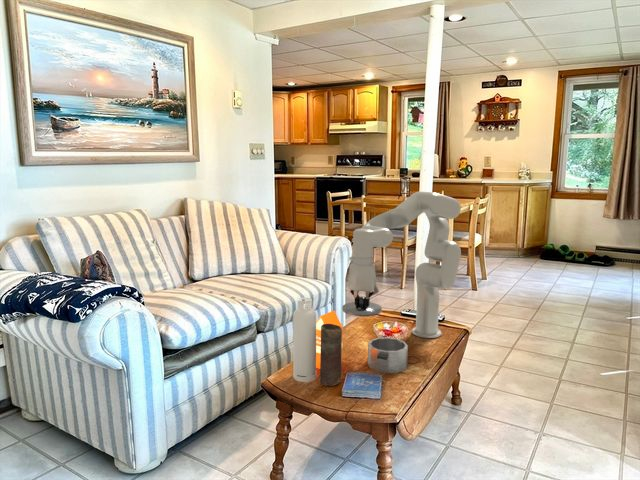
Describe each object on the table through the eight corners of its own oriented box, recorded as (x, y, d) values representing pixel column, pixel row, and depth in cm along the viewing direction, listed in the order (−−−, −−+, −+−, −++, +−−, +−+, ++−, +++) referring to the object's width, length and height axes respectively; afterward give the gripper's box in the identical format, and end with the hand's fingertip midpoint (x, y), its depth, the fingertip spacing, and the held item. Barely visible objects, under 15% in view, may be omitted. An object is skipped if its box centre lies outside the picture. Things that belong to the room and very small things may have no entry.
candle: (328, 375, 167) (328, 321, 164) (345, 381, 163) (346, 325, 160) (315, 383, 161) (315, 327, 158) (333, 389, 157) (334, 331, 154)
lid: (348, 302, 194) (348, 290, 193) (385, 306, 189) (385, 294, 188) (337, 313, 180) (337, 301, 179) (376, 318, 175) (377, 305, 174)
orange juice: (311, 366, 175) (311, 314, 172) (325, 358, 182) (326, 308, 179) (328, 371, 171) (328, 318, 167) (342, 363, 177) (343, 312, 174)
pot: (374, 353, 188) (375, 333, 186) (410, 358, 183) (411, 338, 181) (362, 372, 170) (362, 351, 169) (401, 378, 166) (402, 356, 164)
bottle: (309, 369, 172) (310, 295, 168) (320, 378, 165) (320, 301, 160) (289, 374, 168) (289, 298, 164) (299, 383, 161) (299, 304, 157)
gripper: (339, 261, 181) (339, 307, 184) (381, 264, 175) (380, 312, 178) (345, 257, 188) (345, 302, 191) (385, 260, 182) (384, 307, 185)
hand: (362, 306), depth 184 cm, fingers closed on lid, 2 cm apart
